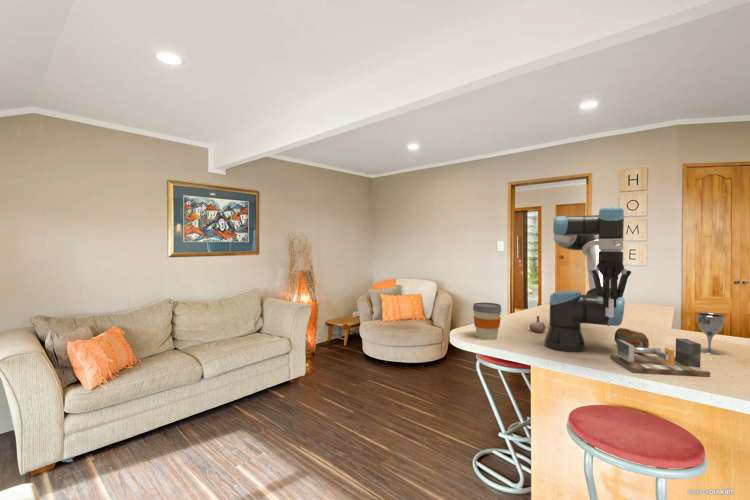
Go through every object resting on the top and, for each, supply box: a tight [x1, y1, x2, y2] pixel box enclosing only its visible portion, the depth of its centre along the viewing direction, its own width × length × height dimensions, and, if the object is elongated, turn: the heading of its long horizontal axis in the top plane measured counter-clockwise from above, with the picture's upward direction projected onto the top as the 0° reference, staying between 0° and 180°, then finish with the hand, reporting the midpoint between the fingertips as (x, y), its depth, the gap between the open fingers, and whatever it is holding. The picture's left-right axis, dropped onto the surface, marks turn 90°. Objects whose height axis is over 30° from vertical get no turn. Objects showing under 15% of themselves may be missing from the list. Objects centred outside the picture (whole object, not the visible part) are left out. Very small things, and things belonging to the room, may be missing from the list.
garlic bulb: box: [529, 315, 547, 334], centre depth 181 cm, size 8×7×8 cm
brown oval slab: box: [614, 327, 650, 348], centre depth 150 cm, size 15×3×8 cm, turn 6°
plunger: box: [617, 340, 669, 362], centre depth 129 cm, size 12×11×6 cm
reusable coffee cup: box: [472, 302, 502, 340], centre depth 170 cm, size 13×13×15 cm
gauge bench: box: [609, 337, 711, 378], centre depth 130 cm, size 23×16×10 cm
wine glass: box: [696, 312, 725, 356], centre depth 148 cm, size 8×8×15 cm
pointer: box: [664, 347, 675, 365], centre depth 124 cm, size 1×3×5 cm, turn 171°
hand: (609, 316), depth 132 cm, fingers closed
